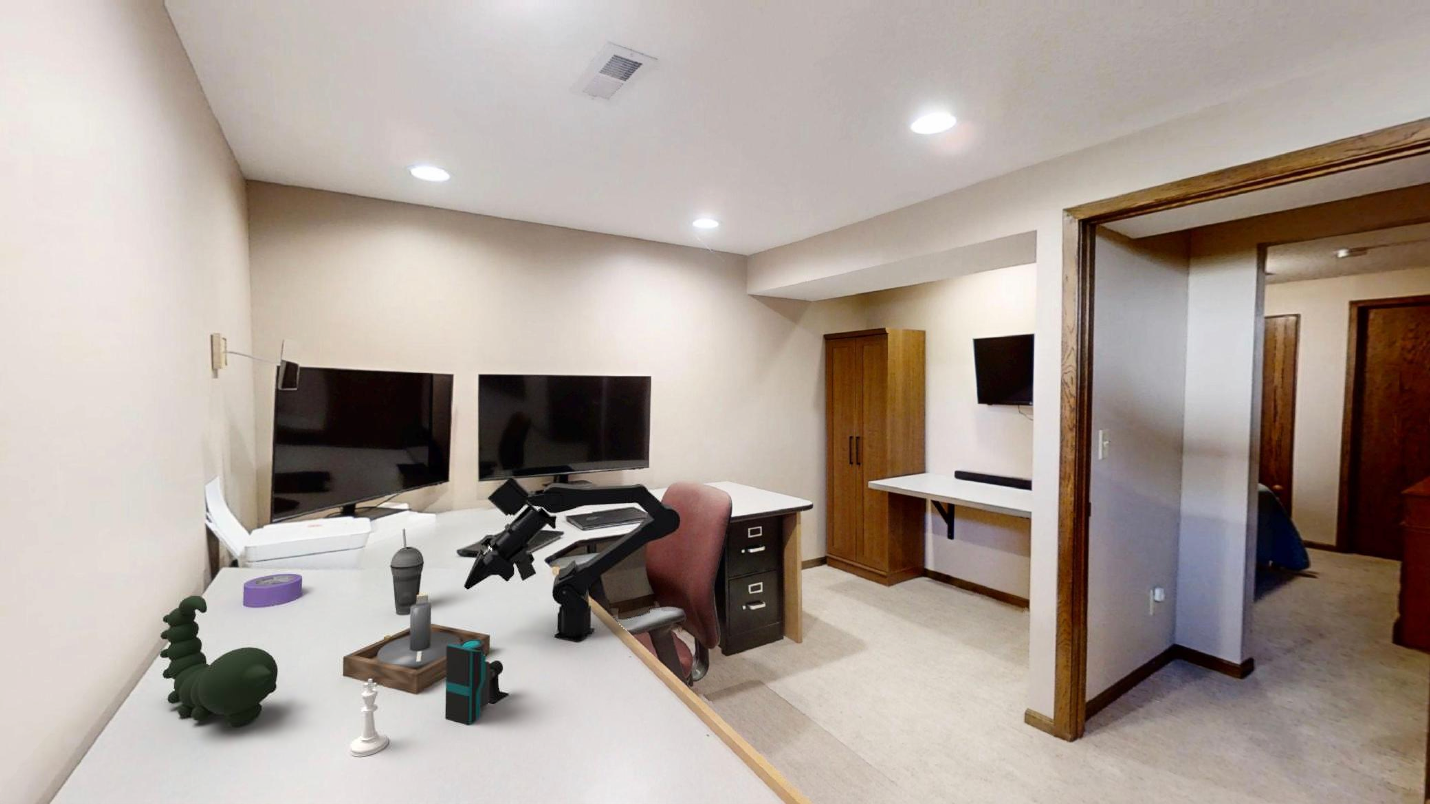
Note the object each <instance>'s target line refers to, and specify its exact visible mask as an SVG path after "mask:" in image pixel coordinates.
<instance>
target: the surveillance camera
mask: <svg viewBox="0 0 1430 804" xmlns="http://www.w3.org/2000/svg"><path fill="white" fill-rule="evenodd" d="M503 670H504V665H503V663H502V662H501V661H500V660H493V661H492V662H489V661H487V660H486V655H484V641H483V640H481V639H470V640H466V641H463V642H462V643H460V644H459V646H457V645H453V644H448V645H446V678H445V713H444V714H445V716H444V718H445V720H447V721H452V722H454V723H458V724H460V725H461V724H462V725H464V726H471V725H472V724H473V723H475V721H477V720H478V718H479V717H480V716H481V710H482V709H483V708H485V707H486V706H488V705H489V704H490V705H494V706H495V705H496V704H497V703H499V702H500V701H501V700H503V699H505V698H506V697H507V696H509V693H508V692H506V691H505V692H504V691H502V690H501V689H500V685H499V675H501V674H502V673H503Z"/></svg>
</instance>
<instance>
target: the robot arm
mask: <svg viewBox="0 0 1430 804" xmlns="http://www.w3.org/2000/svg"><path fill="white" fill-rule="evenodd" d="M487 500H488V501H489V502H491V504H493V505H494V506H495V507H496V508H497V509H498V510H499V511H501V512H502V513H503V515H505V516H506V517H507V516H511V517H512V516H516V515H517V514H518V513H519V512H521V510H522V509H523V508H524V507H525V506H526V505H527V507H525V508H524V509H523V510H522V512H521V513H520V514H518V516H517V517H516V518H514V520H513V521H511V522H510V524H509V523H506V525H505V526H504V530H503V531H502V532H501V533H500V534H498V536H496V537H495V535H493V534H486V535H485V536H484V537H483V538H482V539H481V540H480V541H479V543H480V545H481V546H484V547H486V548H485V549H484V550H482V549H481V548H480V549H479V550H478V553H477V555H476V557H475V560H474V562H473V564H472V567H471V569H470V572H469V573H468V576H467V578H466V580H465V582H464V584H463V587H464V589H466V590H470V589H471V588H473V587H474V586H476V585H478V584H479V583H481V582H482V581H484V580H486V579H487V578H490V577H491V576H499V577H500V578H501V579H502V580H504V581H505V582H507V583H508V582H509V581H510V579H512V578H513V577H514V575H515V567H514V565H515V566H516V569H517V571H518V574H519V577H520V578H521V581H522V582H523V581H526V580H528V579H529V578H530V577H533V576H534V575H536V574H537V572H536V570H535V567H534V565H533V562H535V557H534V556H533V553H532V552H528V549H530V542H531V541H532V540H533V539H534V538H535V537H536V536H537V535H538V534H539V533H540V532H541V531H542V530H543V529H544V528H545V527H546V526H547V525H548V526H550V528H551V529H553V530H555V529H556V528H557V526H556V524H557V523H556V522H557V516H556V515H550V514H560V513H563V512H568V511H572V510H574V509H579V508H581V507H585V506H587V507H588V506H602V505H620V504H623V505H624V504H637V505H638V506H639V507H640V508H641V509H643V510H644V511H645V513H647V515H646V516H645V517H644V518H643V520H641V522H640V524H639V525H637V527H635V528H634V529H632V530H631V531H629V532H628V533H626V534H625V535H623V537H621V538H619V539H618V540H616V541H615V542H614V543H612V544H611V545H609V546H608V547H606V548H605V549H603V550H602V551H600V552H599V553H597V554H596V555H594V556H593V557H592V558H591V559H589V560H588V561H586V562H583V563H580V564H577V562H576V560H575V559H574V560H573V561H571V562H570V563H569V564H568V565H566V566H565V567H563V568H560V569H559V570H558V574H557V575H556V576H555V577H554V580H553V585H552V591H551V593H552V598H553V601H554V602H555V603H557V604H558V605H560V606H559V608H558V612H557V619H556V620H557V622H556V623H557V626H556V629H557V632H556V633H555V634H553V635H554V636H553V637H554V638H556V639H561V640H567V641H570V642H571V641H572V642H578V643H579V642H581V641H582V640H584V639H585V638H587V637H589V635H591V634H593V633H594V632H595V628H592V627H591V626H592V620H591V619H592V611H591V610H592V606H591V605H590V600H589V599H590V595H589V590H588V589H589V587H590V586H591V585H592V584H593V583H594V582H595V581H596V580H597V579H598V578H600V577H601V576H602V575H603V574H606V573H607V572H608V571H609V570H611V569H612V568H613V567H616V565H618V564H619V563H621V562H622V561H623V560H625V559H627V558H628V557H630V556H631V555H633V554H634V553H635V552H636V551H638V550H640V549H641V548H642V547H644V546H646V545H647V544H648V543H650V542H655V541H657V540H660V539H663V538H665V537H668V536H669V535H671V534H673V533H675V532H676V531H678V530H679V528H680V525H681V516H680V514H679V512H677V510H675V508H674V507H673V506H672V505H671V504H667V503H662V501H660V500H659V499H658V498H657V497H656V496H655V495H654V494H653V493H651V492H650V490H649V489H648V488H647V486H645V485H643V484H642V483H637V484H628V485H609V486H607V485H605V486H604V485H602V486H585V487H584V486H580V485H575V484H574V485H573V484H568V483H561V482H555V483H554V482H553V483H550V484H548V485H547V486H546V487H545V488H542V489H536V490H535V489H534V490H530V491H528V490H527V489H526V487H524V486H523V485H521V483H520V482H519V481H518V480H517V478H515V476H513V475H511V476H510V477H509V478H508V479H507V480H506V481H505V482H504V483H503V484H500V485H499V486H498V487H497V488H496V489H495V490H494V491H493V492H492V493H491V494H490V495H489V496H488V497H487ZM536 507H539V508H538V509H537V508H536ZM592 632H593V633H592Z"/></svg>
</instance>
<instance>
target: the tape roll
mask: <svg viewBox="0 0 1430 804" xmlns="http://www.w3.org/2000/svg"><path fill="white" fill-rule="evenodd" d="M242 593H243V596H242V597H243V598H242V605H243V606H244V607H247V608H269V607H275V605H276V606H280V605H284V604H288V603H292V602H294V601H296V599H297V600H298V599H300V598H301V597H302V593H303V576H302V575H301V574H298V573H297V574H296V573H281V574H279V573H277V574H272V575H271V574H270V575H264V576H259V577H256V578H252V579H250V580H248V581H246V582H244V583H243V591H242ZM291 601H292V602H291Z"/></svg>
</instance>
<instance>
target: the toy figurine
mask: <svg viewBox="0 0 1430 804" xmlns="http://www.w3.org/2000/svg"><path fill="white" fill-rule="evenodd" d="M207 605H208V604H207V602H206V600H205V598H203V597H202V596H200V595H190V596H186V597H185V598H184V599H182V600H181V601H180V602H179V605H178V607H176V608H174V609H173V610H171V612H170V613H169V614H166V615H164V616H163V617H162V621H163V622H164V623H165V624H166V623H167V625H168V626H169V628H167V629H164V631H162V632H161V634H160V638H161V639H162V640H166V641H168V642H169V645H168V648H164V649H163V650H161V651H160V653H159V657H160V658H161V659H169V661H170V662H169V664H168V667H167V668H166V669H164V670H163V672H162V678H164V679H166V680H167V679H169V680H170V679H173V680H174V681H173V691H171V692H170V693H169V694H168V696H167V702H168V703H169V704H171V705H174V704H179V703H181V705H179V707H178V710H177V714H178V716H179V717H184V718H185V717H189V716H191V718H192V719H193V720H194V721H196V722H202V721H205V720H207V719H208V718H209V717H210V716H211V715H213V713H214V714H218V715H227V716H226V721H227V724H228V725H229V726H231V727H235V728H236V727H240V726H244V725H246V724H249V723H251V722H253V721H254V720H256V719H257V718H258V717H259V716H260V714H261V712H262V708H263V707H262V704H261V702H262V701H264V700H265V699H266V698H267V697H268V696H269V695H270V694H272V693H274V692H275V691H276V690H277V688H278V687H277V686H278V685H277V680H278V672H279V671H278V670H279V669H278V665H277V661H276V660H275V659H274V657H273V656H272V655H271V654H270V653H269V652H268V651H265V650H264V649H262V648H259V647H253V646H252V647H250V646H249V647H247V646H246V647H241V648H236V649H232V650H229V651H228V652H226V653H224V654H222V655H220V656H219V657H218V658H216V659H215V660H213V661H212V662H211V663H210V664H209V663H208V661H207V657H206V655H205V653H204V652H202V649H203V643H202V640H201V638H199V636H198V634H199V631H200V627H199V624H198V622H197V621H195V620H196V616H197V614H196V610H198V612H199V613H201V614H205V613H206V612H207V611H208V607H207Z"/></svg>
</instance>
